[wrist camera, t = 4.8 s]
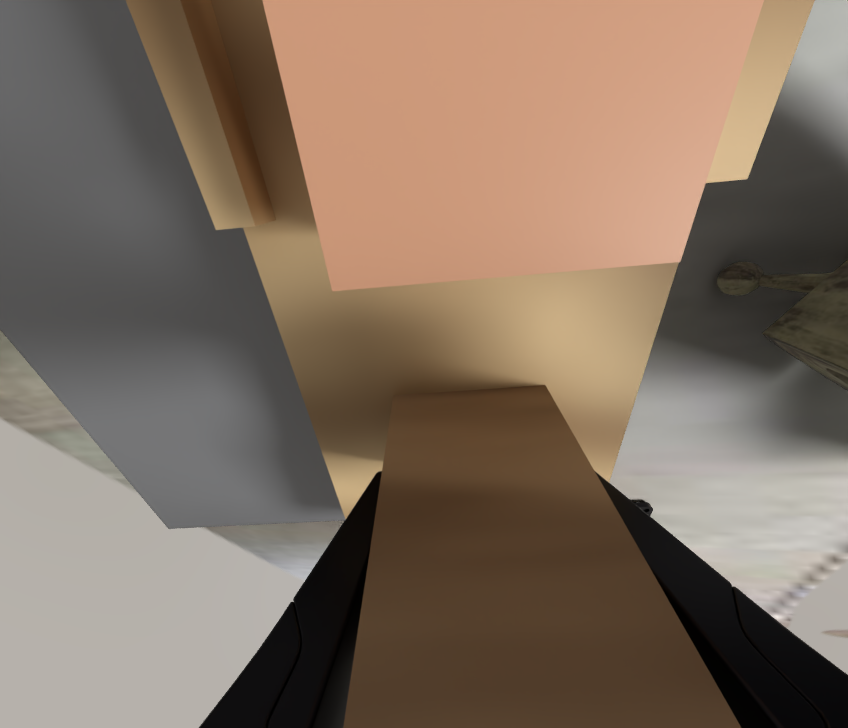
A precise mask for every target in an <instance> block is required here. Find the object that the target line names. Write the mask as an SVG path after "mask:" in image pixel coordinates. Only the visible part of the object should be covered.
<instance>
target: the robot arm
mask: <svg viewBox="0 0 848 728" xmlns="http://www.w3.org/2000/svg"><path fill="white" fill-rule="evenodd" d="M595 473H596V474H597V476H598V478H599V480H600V481H601V483H602V485H603V487H604V488H605V490H606V492H607V494H608V495H609V497H610V499H611V501H612V502H613V504H614V506H615V508H616V509H617V511H618V513H619V515H620V516H621V518H622V520H623V522H624V523H625V525H626V527H627V529H628V530H629V532H630V534H631V536H632V537H633V539H634V541H635V543H636V544H637V546H638V548H639V550H640V551H641V553H642V555H643V557H644V558H645V560H646V562H647V564H648V565H649V567H650V569H651V571H652V572H653V574H654V576H655V578H656V579H657V581H658V583H659V585H660V586H661V588H662V590H663V592H664V593H665V595H666V597H667V599H668V600H669V602H670V604H671V606H672V607H673V609H674V611H675V613H676V614H677V616H678V618H679V620H680V621H681V623H682V625H683V627H684V628H685V630H686V632H687V634H688V635H689V637H690V639H691V641H692V642H693V644H694V646H695V648H696V649H697V651H698V653H699V655H700V656H701V658H702V660H703V662H704V663H705V665H706V667H707V669H708V670H709V672H710V674H711V676H712V677H713V679H714V681H715V683H716V684H717V686H718V688H719V690H720V691H721V693H722V695H723V697H724V698H725V700H726V702H727V703H728V705H729V707H730V709H731V710H732V712H733V714H734V716H735V717H736V719H737V721H738V723H739V724H740V726H741V728H848V675H847V674H846V673H844V672H843V671H842V670H840V669H839V668H838V667H836V666H835V665H834V664H832V663H831V662H830V661H828V660H827V659H826V658H824V657H823V656H822V655H821V654H819V653H818V652H817V651H815V650H814V649H812V648H811V647H810V646H809V645H807V644H806V643H805V642H803V641H802V640H801V639H800V638H798V637H797V636H795V635H794V634H793V633H792V632H790V631H789V630H788V629H787V628H786V627H784V626H783V625H782V624H781V623H779V622H778V621H777V620H776V619H774V618H773V617H772V616H771V615H769V614H768V613H767V612H766V611H764V610H763V609H762V608H761V607H759V606H758V605H757V604H756V603H754V602H753V601H752V600H751V599H750V598H748V597H747V596H746V595H745V594H743V593H742V592H741V591H740V590H739V589H737V588H736V587H732V585H731V583H730V582H729V581H728V580H726V579H725V578H724V577H723V576H721V575H720V574H719V573H718V572H717V571H715V570H714V569H713V568H712V567H711V566H709V565H708V564H707V563H706V562H705V561H703V560H702V559H701V558H700V557H698V556H697V555H696V554H695V553H694V552H692V551H691V550H690V549H689V548H688V547H686V546H685V545H684V544H683V543H682V542H680V541H679V540H678V539H677V538H675V537H674V536H673V535H672V534H671V533H669V532H668V531H667V530H666V529H665V528H663V527H662V526H661V525H660V524H659V523H657V522H656V521H655V520H654V519H652V518H651V517H650V515H651V513H652V511H653V508H652V507H651V505H650V504H649V503H647V502H640V503H633V502H632V501H631V500H629V499H628V498H627V497H626V496H625V495H623V494H622V493H621V492H620V491H619V490H617V489H616V488H615V487H614V486H612V485H611V484H610V483H609V482H608V481H606V480H605V479H604V478H603V477H602V476H600V475H599V474H598V473H597V472H596V471H595ZM381 474H382V471H379V472H377V473H376V474H375V476H374V477H373V479H372V480H371V482H370V483H369V485H368V486H367V488H366V489H365V491H364V492H363V494H362V495H361V497H360V498H359V500H358V501H357V503H356V505H355V506H354V508H353V509H352V511H351V512H350V514H349V515H348V517H347V518H346V520H345V521H344V523H343V524H342V526H341V527H340V529H339V530H338V532H337V533H336V535H335V536H334V538H333V539H332V541H331V542H330V544H329V545H328V547H327V548H326V550H325V551H324V553H323V555H322V556H321V558H320V559H319V561H318V562H317V564H316V565H315V567H314V568H313V570H312V571H311V573H310V574H309V576H308V577H307V579H306V580H305V582H304V583H303V585H302V586H301V588H300V589H299V591H298V592H297V594H296V596H295V597H294V599H293V600H294V602H291V603H290V604H289V606H288V607H287V609H286V610H285V612H284V614H283V615H282V617H281V618H280V619H279V621H278V622H277V624H276V625H275V627H274V628H273V630H272V631H271V633H270V634H269V636H268V637H267V639H266V640H265V641H264V643H263V644H262V646H261V647H260V648H259V650H258V651H257V653H256V654H255V655H254V657H253V658H252V659H251V661H250V662H249V663H248V665H247V666H246V667H245V669H244V670H243V671H242V673H241V674H240V675H239V677H238V678H237V679H236V680H235V682H234V683H233V684H232V686H231V687H230V688H229V690H228V691H227V692H226V693H225V695H224V696H223V697H222V699H221V700H220V701H219V702H218V704H217V705H216V707H215V708H214V709H213V710H212V711H211V713H210V714H209V715H208V717H207V718H206V719H205V721H204V722H203V723H202V724H201V726H200V727H199V728H343V726H344V720H345V713H346V706H347V700H348V693H349V686H350V680H351V673H352V666H353V660H354V653H355V647H356V640H357V633H358V627H359V620H360V613H361V607H362V600H363V594H364V587H365V580H366V574H367V567H368V560H369V554H370V547H371V540H372V534H373V527H374V521H375V514H376V507H377V501H378V494H379V487H380V481H381Z"/></svg>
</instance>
